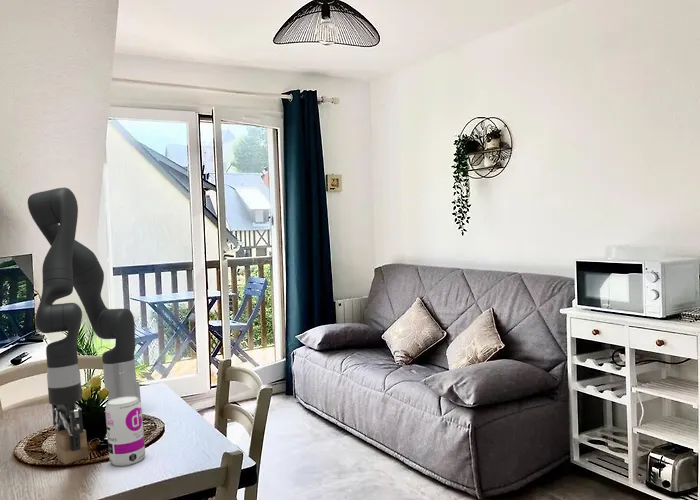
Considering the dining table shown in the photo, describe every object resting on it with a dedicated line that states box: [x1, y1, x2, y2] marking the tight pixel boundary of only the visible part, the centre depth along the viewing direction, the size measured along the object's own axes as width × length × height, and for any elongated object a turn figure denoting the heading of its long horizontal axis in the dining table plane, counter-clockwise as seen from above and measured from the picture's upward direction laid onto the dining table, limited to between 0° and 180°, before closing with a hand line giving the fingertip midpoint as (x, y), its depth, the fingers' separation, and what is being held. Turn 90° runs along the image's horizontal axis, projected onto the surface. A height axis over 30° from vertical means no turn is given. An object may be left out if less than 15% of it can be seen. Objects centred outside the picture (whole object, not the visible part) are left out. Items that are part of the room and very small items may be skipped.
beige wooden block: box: [54, 427, 89, 465], centre depth 151 cm, size 6×6×7 cm
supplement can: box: [105, 396, 146, 467], centre depth 147 cm, size 8×8×15 cm
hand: (69, 446), depth 151 cm, fingers open, 8 cm apart
